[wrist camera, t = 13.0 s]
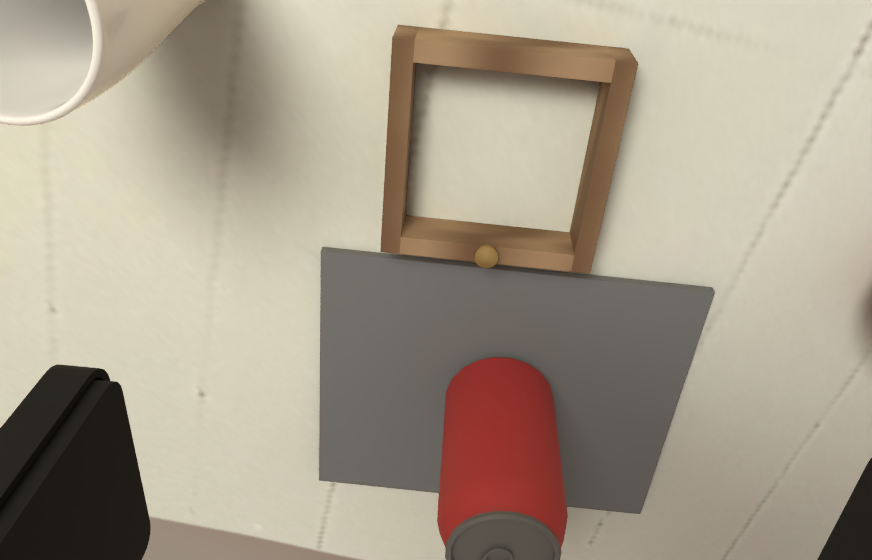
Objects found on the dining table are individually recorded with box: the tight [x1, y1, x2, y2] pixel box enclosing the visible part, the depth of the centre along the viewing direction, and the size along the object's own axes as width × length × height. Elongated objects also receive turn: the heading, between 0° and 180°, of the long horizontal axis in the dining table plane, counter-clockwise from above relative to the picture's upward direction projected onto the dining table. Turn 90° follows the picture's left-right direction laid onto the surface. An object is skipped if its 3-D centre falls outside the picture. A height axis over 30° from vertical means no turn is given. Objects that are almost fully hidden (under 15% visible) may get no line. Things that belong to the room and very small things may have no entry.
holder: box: [381, 25, 638, 274], centre depth 37 cm, size 11×11×3 cm
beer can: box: [437, 357, 567, 560], centre depth 41 cm, size 7×7×12 cm
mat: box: [319, 247, 715, 514], centre depth 46 cm, size 22×18×1 cm
